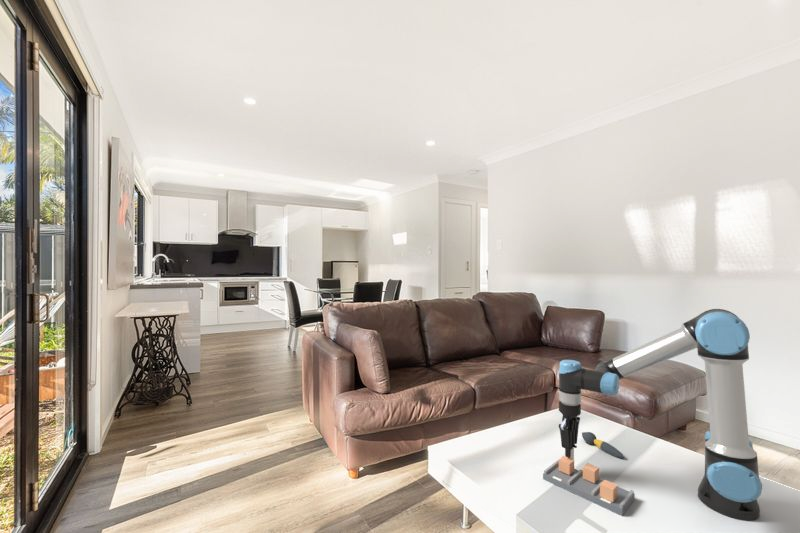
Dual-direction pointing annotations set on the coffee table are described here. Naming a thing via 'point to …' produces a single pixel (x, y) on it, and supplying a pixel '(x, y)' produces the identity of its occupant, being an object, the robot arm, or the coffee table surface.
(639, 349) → the robot arm
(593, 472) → the peach cube
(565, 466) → the tan cube
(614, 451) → the paintbrush
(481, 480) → the coffee table surface
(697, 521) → the coffee table surface
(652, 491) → the coffee table surface
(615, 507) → the switch bank
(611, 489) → the tab
